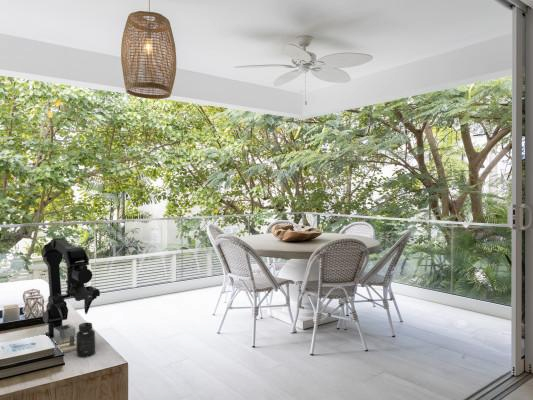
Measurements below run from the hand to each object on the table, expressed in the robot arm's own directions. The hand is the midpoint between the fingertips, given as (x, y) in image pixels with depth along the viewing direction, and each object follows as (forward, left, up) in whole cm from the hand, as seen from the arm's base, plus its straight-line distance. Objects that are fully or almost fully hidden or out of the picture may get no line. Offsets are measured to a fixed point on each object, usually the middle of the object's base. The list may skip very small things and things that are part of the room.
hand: (74, 316), depth 173 cm
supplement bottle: (+9, 0, -13) cm, 16 cm away
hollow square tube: (-9, -1, -13) cm, 16 cm away
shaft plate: (-2, -1, -13) cm, 13 cm away
